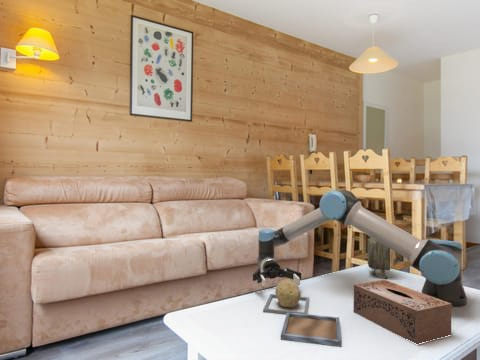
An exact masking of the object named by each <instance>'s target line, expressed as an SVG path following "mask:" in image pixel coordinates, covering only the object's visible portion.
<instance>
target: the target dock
mask: <svg viewBox="0 0 480 360" xmlns="http://www.w3.org/2000/svg"><path fill="white" fill-rule="evenodd" d="M280 340H282V341H283V340H284V341H293V342H300V343H307V344H315V345H316V344H317V345H325V346H326V345H327V346H333V347H340V348H341V347H342V336H341V325H340V317H339V316H337V317H336V316H327V315H317V314H308V313H307V314H299V313H289V312H287V315H286V314H285V318H284V322H283V325H282V329H281V333H280Z"/></svg>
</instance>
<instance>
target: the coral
mask: <svg viewBox="0 0 480 360" xmlns="http://www.w3.org/2000/svg"><path fill="white" fill-rule="evenodd" d="M301 293H302V292H301V290H300V287H299V286H298V285H297V284H296V283H295V282H294V281H293V279H290V278H285V279H283V280H281V281H279V282H278V283H277V284H276V287H275V291H274V294H275V295H276V296H277V298H276V299H277V301H278V302H279V304H280V305H281V307H284V308H295V307H296V306H297V305H298V304H299V302H300V301H301V300H300V297H302V296H301V295H302V294H301Z"/></svg>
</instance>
